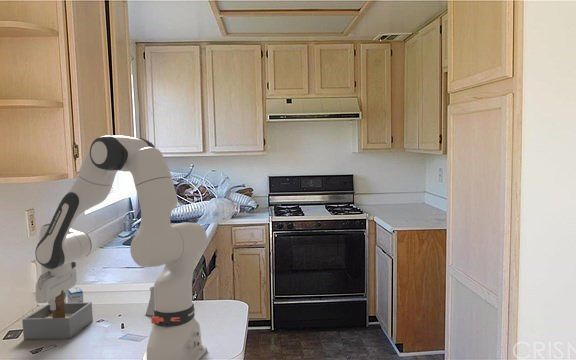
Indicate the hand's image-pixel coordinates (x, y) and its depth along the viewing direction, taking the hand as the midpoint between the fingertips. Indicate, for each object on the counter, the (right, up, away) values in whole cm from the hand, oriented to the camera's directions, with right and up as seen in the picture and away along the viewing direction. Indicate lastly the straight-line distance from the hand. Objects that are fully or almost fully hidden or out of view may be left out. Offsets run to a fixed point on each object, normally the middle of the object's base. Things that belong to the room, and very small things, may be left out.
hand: (58, 306), depth 160 cm
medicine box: (-3, -7, +20) cm, 21 cm away
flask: (+30, -7, +14) cm, 34 cm away
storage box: (0, -8, 0) cm, 8 cm away
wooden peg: (0, -4, 0) cm, 4 cm away
